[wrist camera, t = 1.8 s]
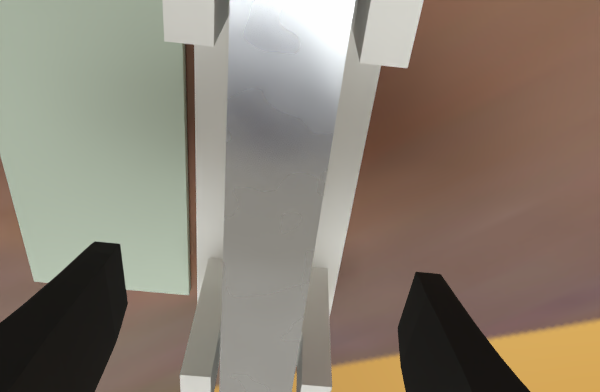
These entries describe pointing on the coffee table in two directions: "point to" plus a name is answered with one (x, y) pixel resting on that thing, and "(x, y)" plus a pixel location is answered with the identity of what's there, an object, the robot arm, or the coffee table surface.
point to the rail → (275, 178)
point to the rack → (339, 182)
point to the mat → (96, 136)
